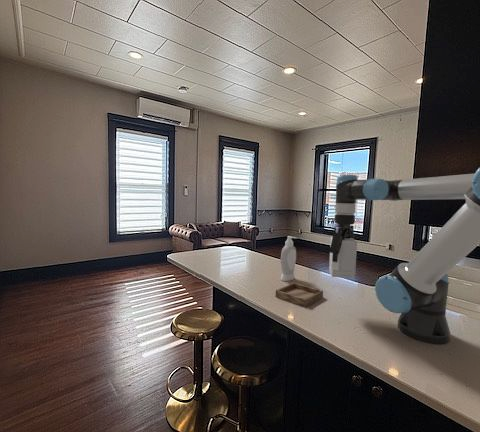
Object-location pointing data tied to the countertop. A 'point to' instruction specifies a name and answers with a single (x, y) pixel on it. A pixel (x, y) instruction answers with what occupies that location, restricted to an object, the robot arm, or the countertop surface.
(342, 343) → the countertop surface
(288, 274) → the soap bottle
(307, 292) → the tray
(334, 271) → the supplement box
